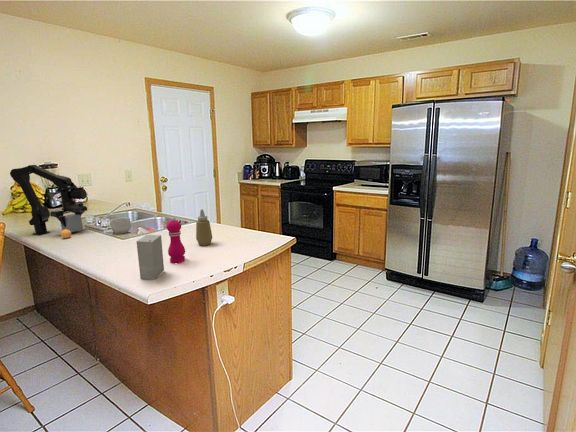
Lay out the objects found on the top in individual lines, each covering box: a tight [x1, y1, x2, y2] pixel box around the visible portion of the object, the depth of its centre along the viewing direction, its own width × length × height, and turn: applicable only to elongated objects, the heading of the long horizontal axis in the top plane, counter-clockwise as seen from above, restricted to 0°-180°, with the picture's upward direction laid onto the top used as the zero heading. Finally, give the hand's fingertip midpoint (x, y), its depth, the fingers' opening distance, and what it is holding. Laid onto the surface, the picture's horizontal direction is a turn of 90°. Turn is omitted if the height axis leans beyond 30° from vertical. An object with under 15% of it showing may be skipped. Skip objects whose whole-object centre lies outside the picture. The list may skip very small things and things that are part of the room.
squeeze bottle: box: [195, 209, 213, 247], centre depth 171 cm, size 8×8×18 cm
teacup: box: [109, 216, 132, 235], centre depth 200 cm, size 14×11×8 cm
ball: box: [60, 229, 72, 239], centre depth 190 cm, size 5×5×5 cm
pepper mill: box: [166, 216, 186, 265], centre depth 148 cm, size 7×7×20 cm
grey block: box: [60, 213, 84, 233], centre depth 201 cm, size 8×8×9 cm
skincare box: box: [136, 234, 165, 280], centre depth 133 cm, size 8×7×16 cm
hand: (71, 225), depth 201 cm, fingers closed on grey block, 8 cm apart
